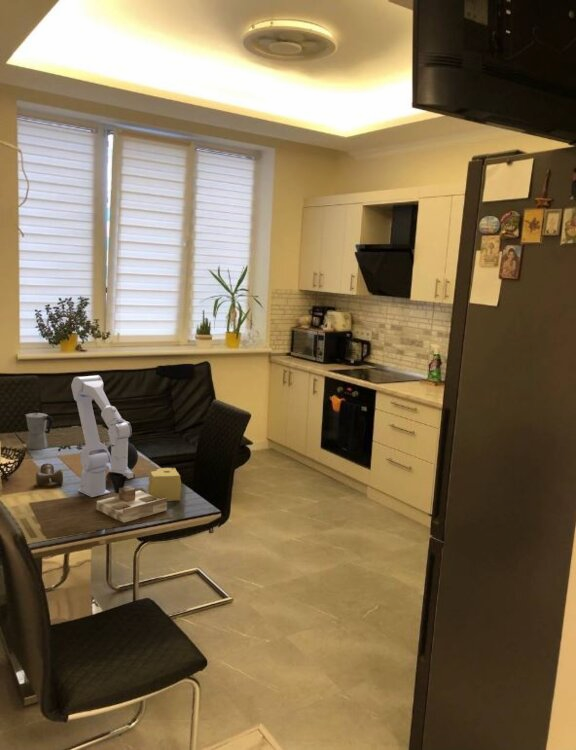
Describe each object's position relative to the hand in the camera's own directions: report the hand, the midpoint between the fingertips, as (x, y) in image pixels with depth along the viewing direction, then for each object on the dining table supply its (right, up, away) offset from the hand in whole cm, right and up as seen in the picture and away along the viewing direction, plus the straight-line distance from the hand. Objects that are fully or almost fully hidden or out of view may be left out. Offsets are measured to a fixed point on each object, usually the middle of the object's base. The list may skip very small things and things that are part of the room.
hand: (118, 492), depth 225 cm
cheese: (+14, -4, +10) cm, 18 cm away
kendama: (-32, 0, +19) cm, 37 cm away
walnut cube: (+4, -2, -3) cm, 5 cm away
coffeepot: (-54, +9, +65) cm, 85 cm away
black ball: (-7, 0, +30) cm, 31 cm away
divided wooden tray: (+6, -5, -5) cm, 9 cm away
